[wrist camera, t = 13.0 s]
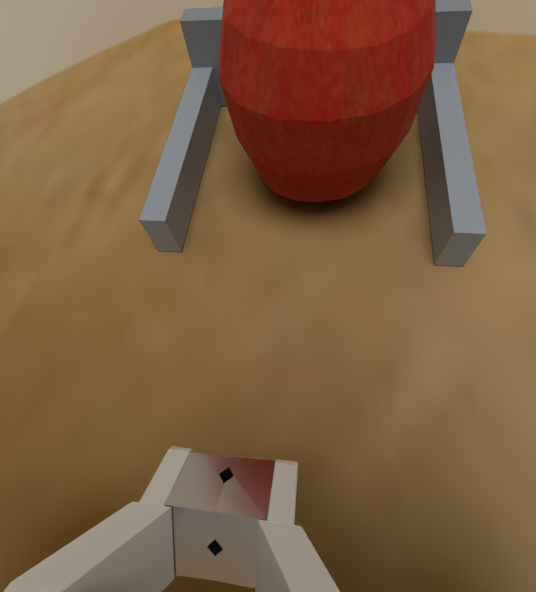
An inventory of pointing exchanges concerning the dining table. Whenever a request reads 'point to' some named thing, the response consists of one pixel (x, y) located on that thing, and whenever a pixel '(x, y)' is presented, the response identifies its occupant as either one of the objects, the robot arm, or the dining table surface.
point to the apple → (324, 87)
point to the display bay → (433, 129)
